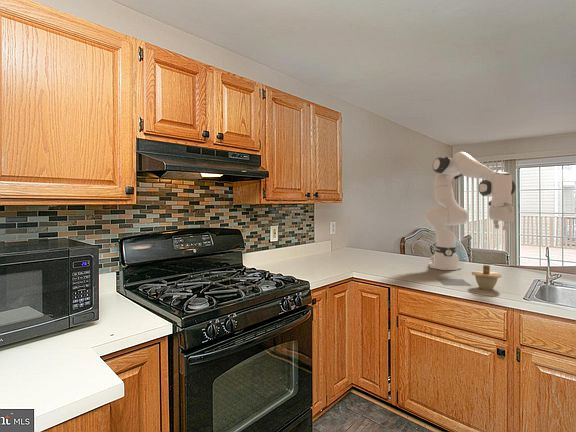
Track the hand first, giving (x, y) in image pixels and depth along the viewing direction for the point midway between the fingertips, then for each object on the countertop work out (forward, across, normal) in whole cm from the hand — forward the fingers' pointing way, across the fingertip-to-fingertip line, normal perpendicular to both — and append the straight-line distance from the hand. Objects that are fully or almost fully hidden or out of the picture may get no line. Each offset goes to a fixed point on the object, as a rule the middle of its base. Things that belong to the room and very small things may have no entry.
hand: (500, 229), depth 179 cm
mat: (+29, 0, +23) cm, 37 cm away
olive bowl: (+29, -11, +11) cm, 33 cm away
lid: (+22, -11, +11) cm, 27 cm away
